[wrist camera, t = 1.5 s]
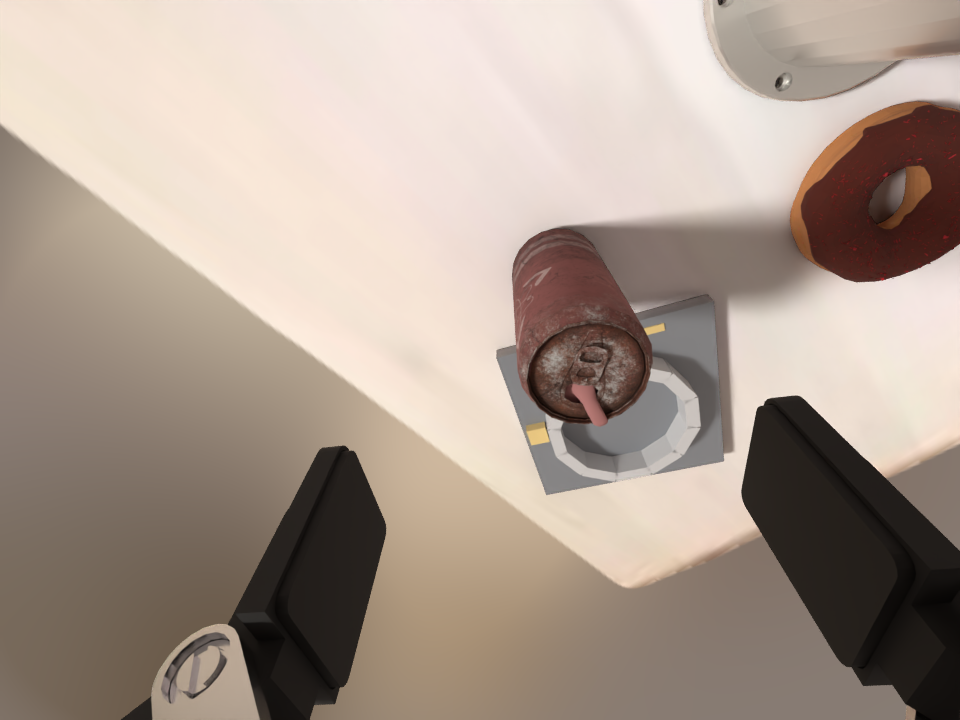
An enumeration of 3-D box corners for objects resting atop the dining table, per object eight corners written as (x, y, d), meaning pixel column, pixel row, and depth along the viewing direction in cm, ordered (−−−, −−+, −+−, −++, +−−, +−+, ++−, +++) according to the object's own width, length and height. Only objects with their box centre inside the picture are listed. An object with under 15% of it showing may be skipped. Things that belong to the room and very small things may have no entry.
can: (538, 324, 33) (558, 452, 21) (496, 254, 31) (493, 356, 19) (613, 287, 31) (680, 404, 19) (575, 209, 29) (628, 290, 17)
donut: (781, 138, 26) (823, 145, 23) (972, 72, 24) (1049, 68, 21) (782, 286, 31) (816, 310, 28) (941, 242, 29) (999, 262, 26)
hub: (706, 294, 31) (726, 313, 29) (718, 451, 39) (734, 478, 36) (496, 350, 35) (496, 371, 32) (545, 485, 42) (548, 512, 40)
